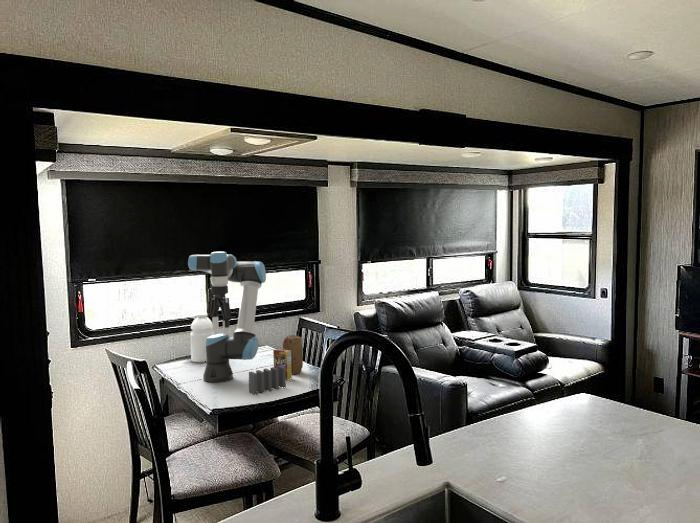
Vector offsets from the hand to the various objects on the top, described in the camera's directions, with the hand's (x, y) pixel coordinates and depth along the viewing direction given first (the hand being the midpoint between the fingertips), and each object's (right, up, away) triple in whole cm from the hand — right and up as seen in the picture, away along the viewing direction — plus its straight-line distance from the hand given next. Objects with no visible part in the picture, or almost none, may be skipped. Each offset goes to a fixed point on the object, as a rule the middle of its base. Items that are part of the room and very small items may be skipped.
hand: (220, 332), depth 253 cm
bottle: (-28, -26, +72) cm, 81 cm away
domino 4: (+23, -30, +15) cm, 40 cm away
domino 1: (+14, -30, +8) cm, 34 cm away
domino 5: (+26, -29, +18) cm, 43 cm away
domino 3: (+20, -30, +13) cm, 38 cm away
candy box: (+25, -28, +32) cm, 50 cm away
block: (+29, -28, +43) cm, 59 cm away
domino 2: (+17, -30, +10) cm, 36 cm away
